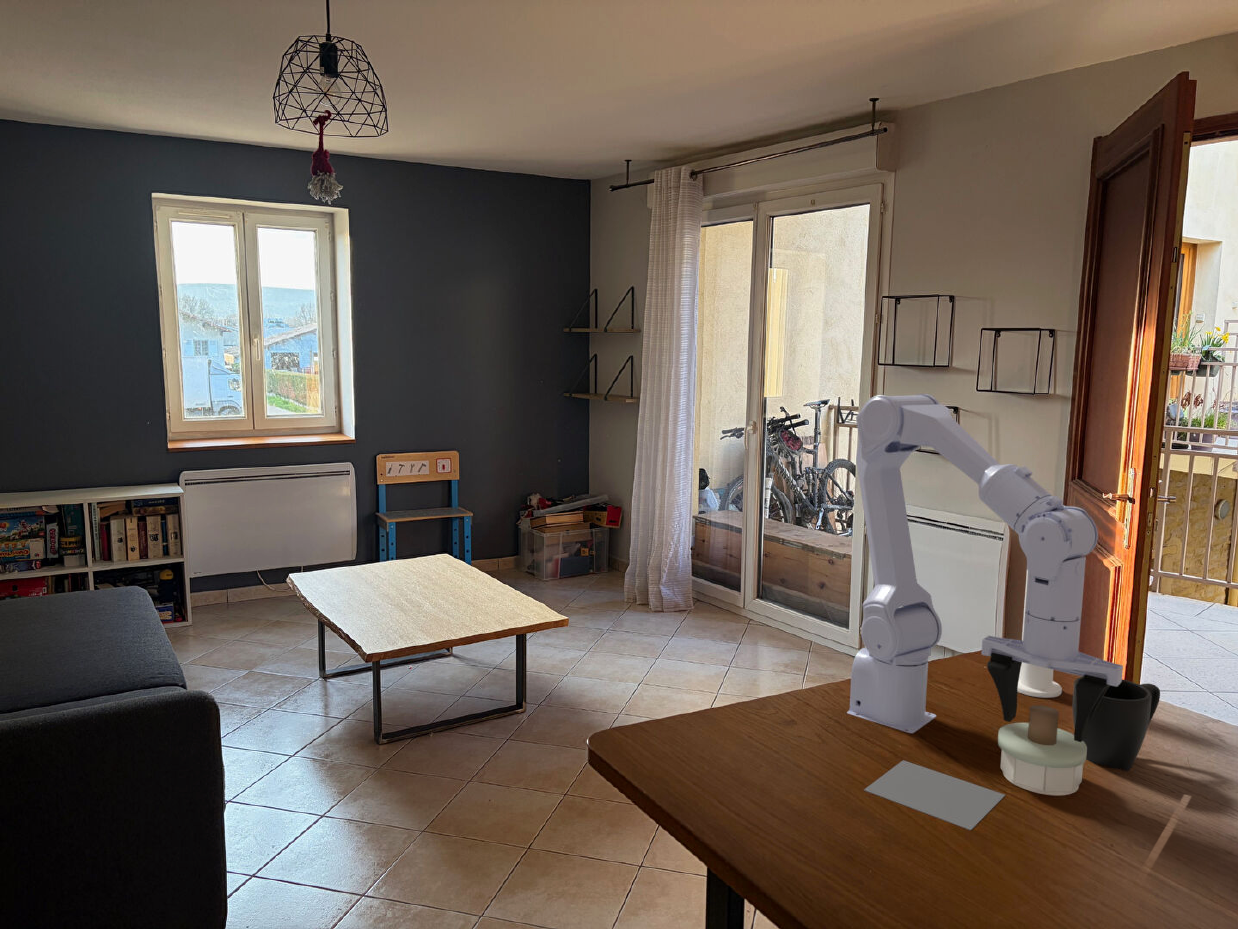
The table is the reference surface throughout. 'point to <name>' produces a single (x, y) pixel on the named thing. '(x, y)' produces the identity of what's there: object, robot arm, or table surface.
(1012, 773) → the bowl
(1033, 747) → the lid
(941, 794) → the mat
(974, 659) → the table surface
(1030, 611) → the robot arm
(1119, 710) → the mug
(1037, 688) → the candle
